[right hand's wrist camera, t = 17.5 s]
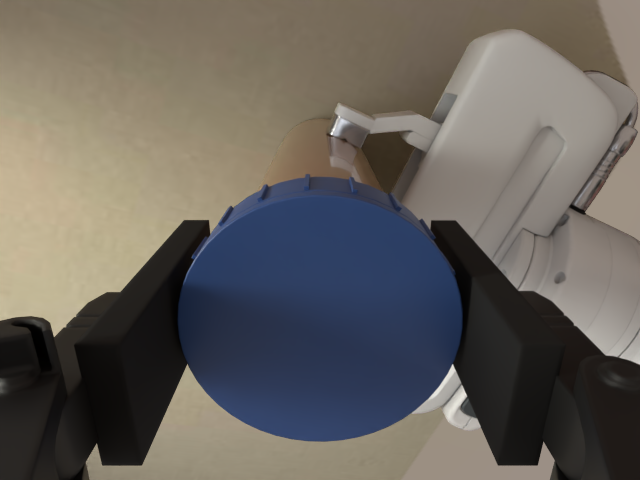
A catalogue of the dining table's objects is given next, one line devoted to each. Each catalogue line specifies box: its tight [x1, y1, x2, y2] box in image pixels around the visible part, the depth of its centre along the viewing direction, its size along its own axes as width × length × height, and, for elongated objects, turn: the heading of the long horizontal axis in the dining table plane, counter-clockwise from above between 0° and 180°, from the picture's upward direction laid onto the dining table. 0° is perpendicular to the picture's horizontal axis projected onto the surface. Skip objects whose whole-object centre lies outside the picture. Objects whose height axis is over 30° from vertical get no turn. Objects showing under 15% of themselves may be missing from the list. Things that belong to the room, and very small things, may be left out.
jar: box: [257, 118, 383, 192], centre depth 20 cm, size 5×5×19 cm
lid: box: [177, 174, 463, 442], centre depth 11 cm, size 7×7×2 cm
